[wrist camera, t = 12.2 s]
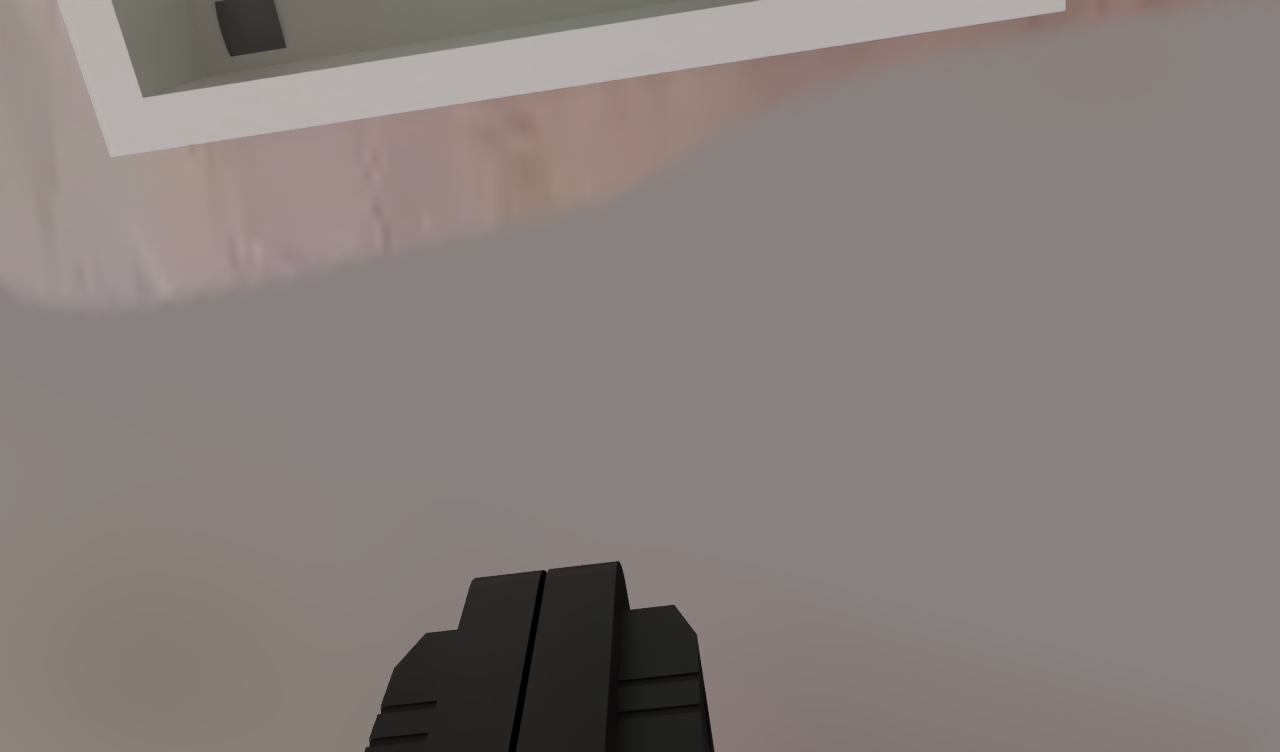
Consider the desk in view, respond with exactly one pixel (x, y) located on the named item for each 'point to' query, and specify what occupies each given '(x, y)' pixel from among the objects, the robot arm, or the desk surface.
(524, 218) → the desk surface
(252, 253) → the desk surface
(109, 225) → the desk surface
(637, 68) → the white planter box
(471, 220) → the desk surface
